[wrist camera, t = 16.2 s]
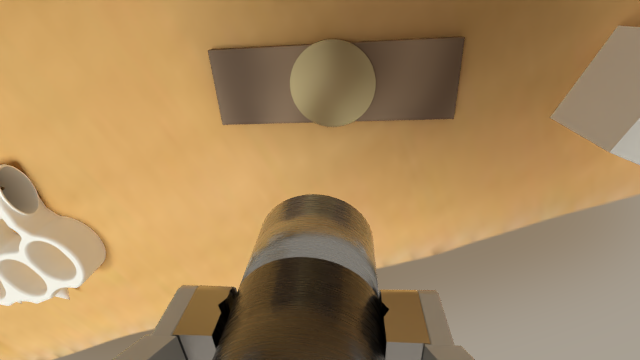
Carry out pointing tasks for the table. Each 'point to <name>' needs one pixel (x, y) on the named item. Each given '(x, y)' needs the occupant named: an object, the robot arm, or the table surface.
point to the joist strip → (338, 81)
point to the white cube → (608, 97)
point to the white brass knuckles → (40, 245)
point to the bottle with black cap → (307, 288)
